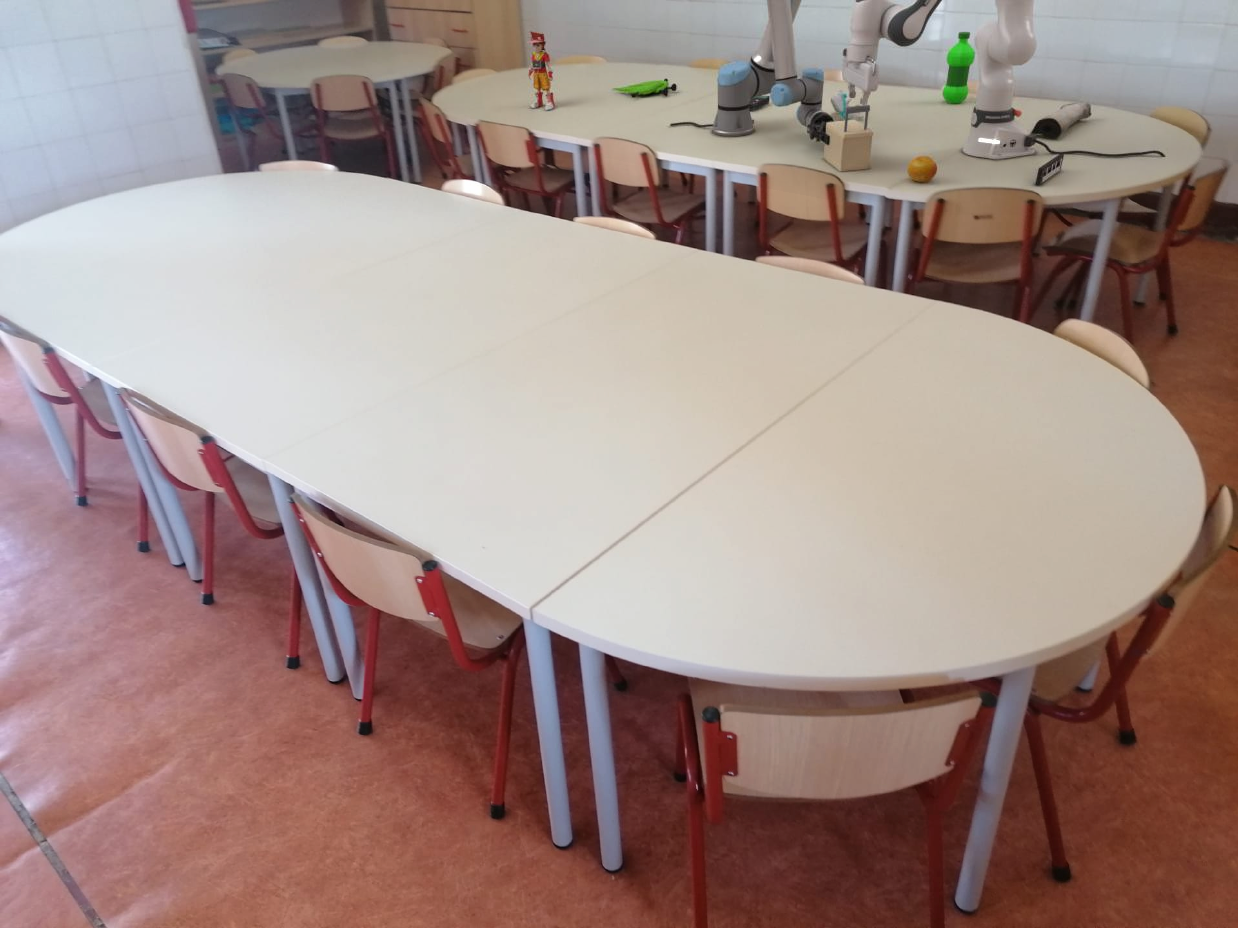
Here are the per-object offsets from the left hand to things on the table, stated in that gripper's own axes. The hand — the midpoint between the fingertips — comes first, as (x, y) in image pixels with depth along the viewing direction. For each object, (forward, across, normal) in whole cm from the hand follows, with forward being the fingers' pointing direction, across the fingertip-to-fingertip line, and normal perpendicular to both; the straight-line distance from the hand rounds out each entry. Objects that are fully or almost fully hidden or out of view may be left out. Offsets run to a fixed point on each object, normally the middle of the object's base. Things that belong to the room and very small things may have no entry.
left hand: (843, 139), depth 296 cm
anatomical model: (-53, -22, -7) cm, 57 cm away
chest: (+4, 0, -7) cm, 8 cm away
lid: (+4, 0, +3) cm, 5 cm away
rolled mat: (-10, -85, -7) cm, 86 cm away
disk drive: (-82, +7, -7) cm, 83 cm away
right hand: (+9, 0, +14) cm, 16 cm away
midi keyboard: (+38, -51, -7) cm, 64 cm away
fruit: (+28, -15, -7) cm, 32 cm away
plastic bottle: (-58, -69, -7) cm, 90 cm away
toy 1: (-114, +90, -7) cm, 145 cm away
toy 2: (-125, +45, -7) cm, 133 cm away
